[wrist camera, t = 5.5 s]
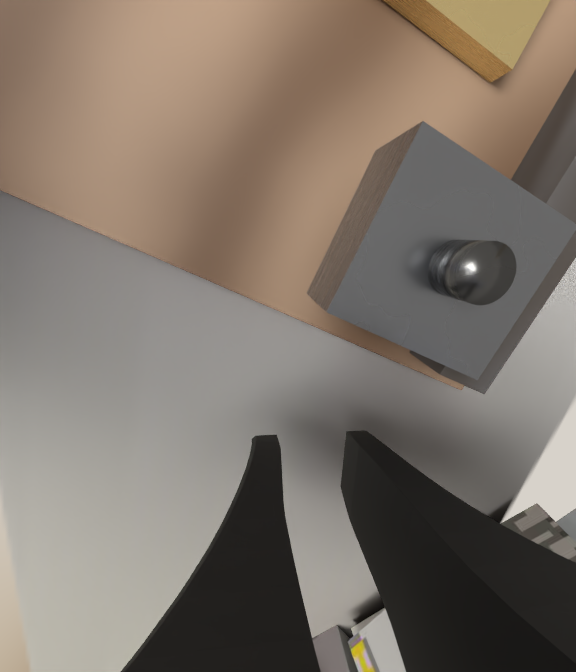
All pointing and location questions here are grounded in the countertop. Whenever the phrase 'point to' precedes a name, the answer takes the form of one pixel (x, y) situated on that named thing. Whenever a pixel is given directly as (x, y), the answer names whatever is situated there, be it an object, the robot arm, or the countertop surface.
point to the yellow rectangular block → (477, 29)
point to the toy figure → (376, 631)
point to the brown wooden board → (265, 132)
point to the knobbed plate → (438, 251)
